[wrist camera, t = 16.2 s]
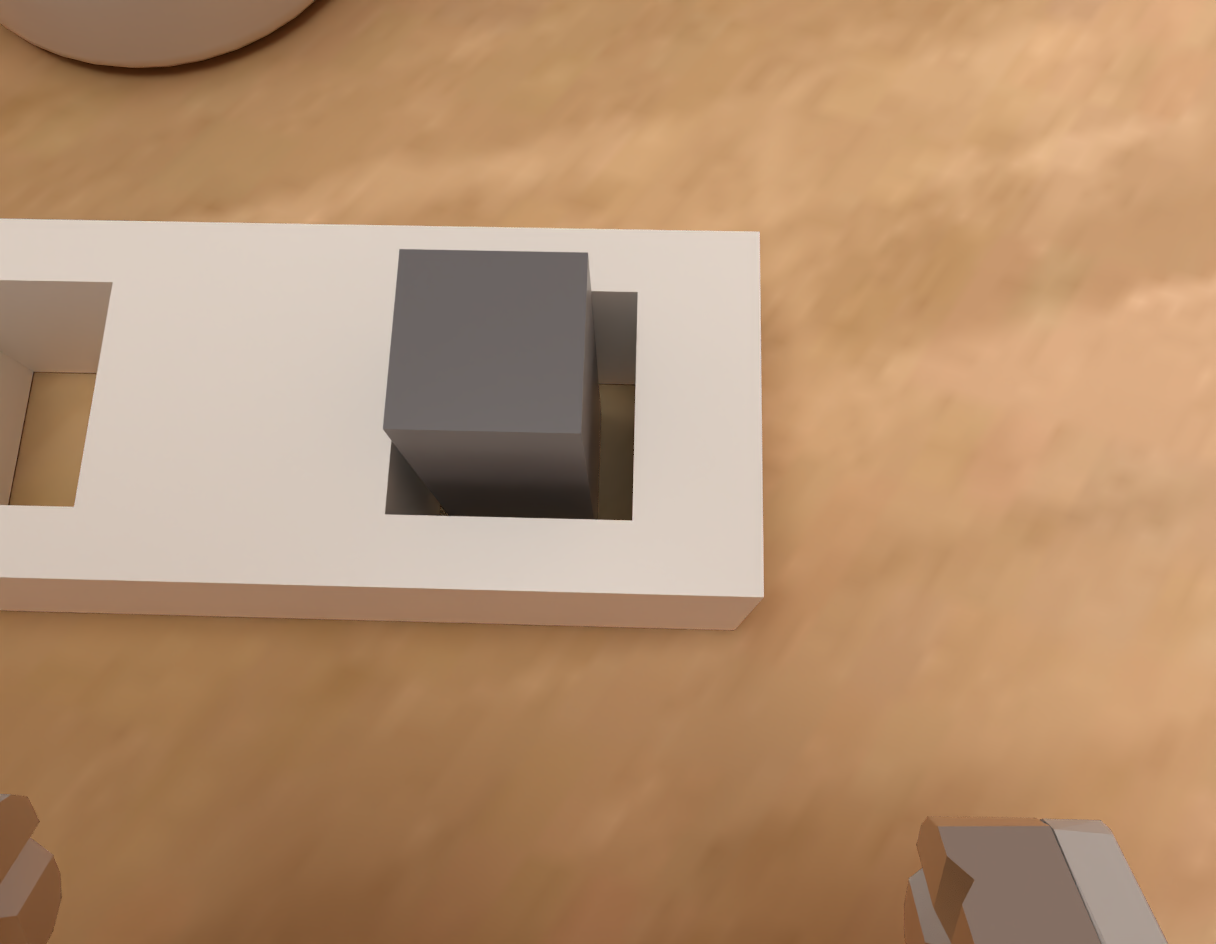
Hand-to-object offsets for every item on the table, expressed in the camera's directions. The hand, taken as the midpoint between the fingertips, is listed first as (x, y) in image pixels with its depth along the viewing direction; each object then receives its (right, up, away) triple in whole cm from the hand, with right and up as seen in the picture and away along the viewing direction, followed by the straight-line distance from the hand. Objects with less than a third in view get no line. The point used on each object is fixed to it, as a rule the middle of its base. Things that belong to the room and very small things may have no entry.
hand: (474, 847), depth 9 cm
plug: (0, +3, +14) cm, 14 cm away
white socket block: (-5, +4, +14) cm, 15 cm away
